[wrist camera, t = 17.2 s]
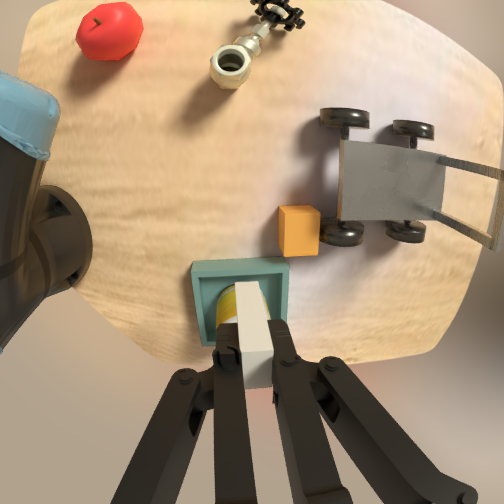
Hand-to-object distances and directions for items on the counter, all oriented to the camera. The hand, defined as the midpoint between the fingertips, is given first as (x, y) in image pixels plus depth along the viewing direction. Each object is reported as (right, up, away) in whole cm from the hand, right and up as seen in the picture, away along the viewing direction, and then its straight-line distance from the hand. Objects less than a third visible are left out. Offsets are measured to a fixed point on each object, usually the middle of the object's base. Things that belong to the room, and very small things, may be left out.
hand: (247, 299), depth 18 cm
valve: (0, +26, +7) cm, 27 cm away
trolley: (+15, +13, +14) cm, 24 cm away
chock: (+6, +6, +16) cm, 18 cm away
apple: (-16, +29, +5) cm, 33 cm away
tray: (-1, -3, +19) cm, 19 cm away
